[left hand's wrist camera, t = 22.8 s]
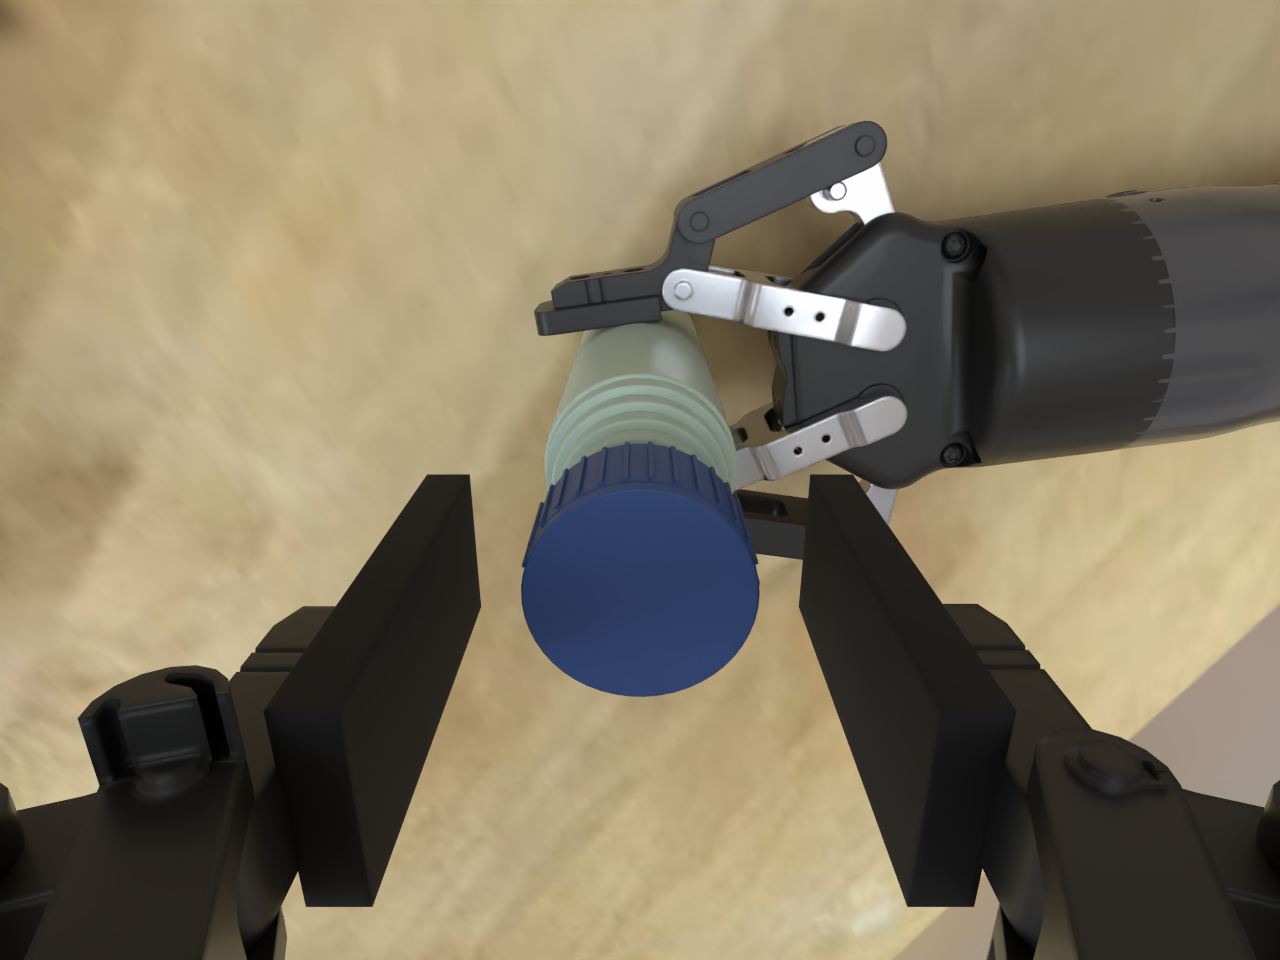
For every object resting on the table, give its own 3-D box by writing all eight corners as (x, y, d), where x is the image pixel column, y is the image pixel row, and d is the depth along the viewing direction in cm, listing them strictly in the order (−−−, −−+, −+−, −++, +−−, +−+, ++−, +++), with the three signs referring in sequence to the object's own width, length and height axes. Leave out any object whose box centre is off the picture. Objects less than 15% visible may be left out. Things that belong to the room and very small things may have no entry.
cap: (760, 448, 14) (780, 496, 12) (730, 636, 15) (744, 709, 13) (539, 429, 14) (522, 474, 12) (530, 621, 15) (513, 691, 13)
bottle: (702, 290, 30) (788, 459, 12) (691, 402, 32) (754, 689, 14) (586, 282, 30) (509, 442, 12) (581, 394, 31) (508, 675, 14)
